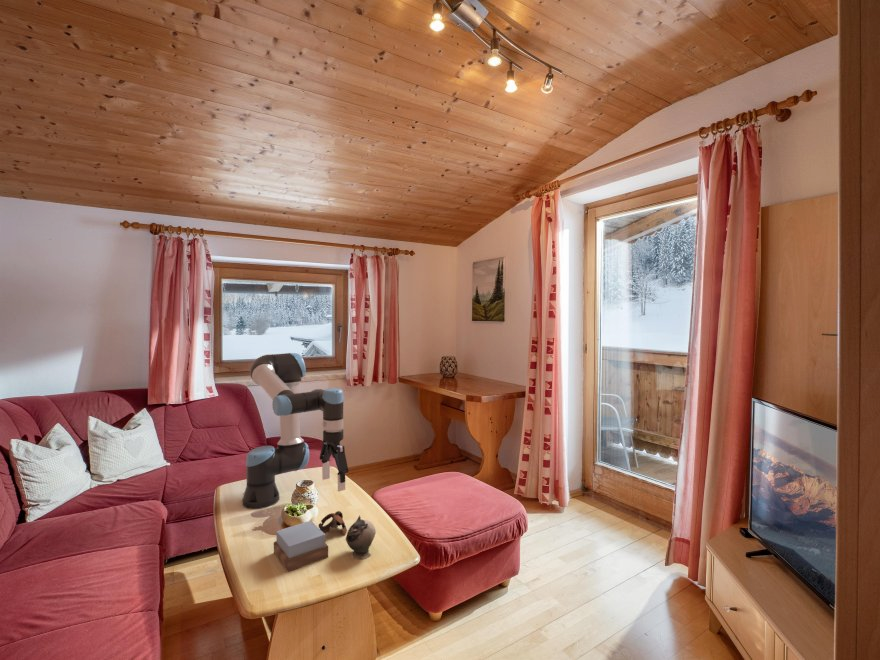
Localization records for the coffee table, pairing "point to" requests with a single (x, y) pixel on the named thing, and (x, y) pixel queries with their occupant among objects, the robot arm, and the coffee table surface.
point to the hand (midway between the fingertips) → (333, 484)
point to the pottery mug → (333, 522)
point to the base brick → (300, 557)
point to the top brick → (300, 539)
